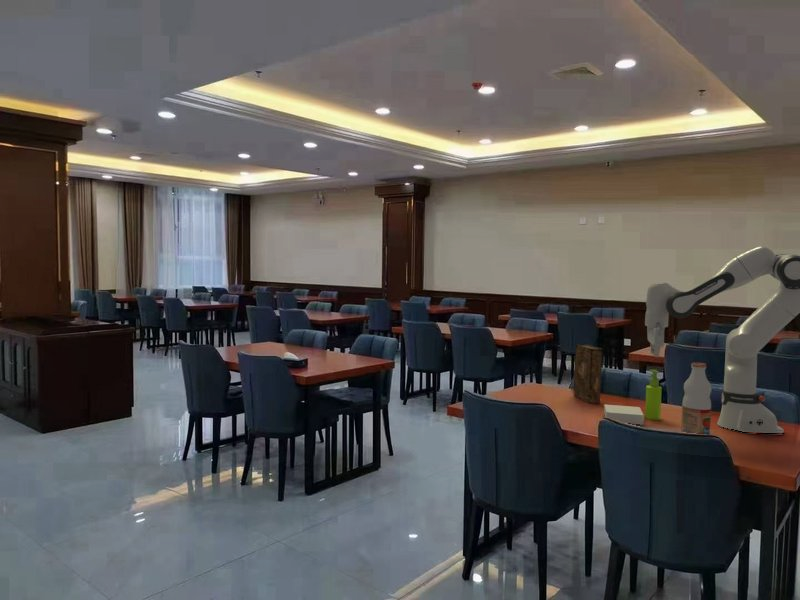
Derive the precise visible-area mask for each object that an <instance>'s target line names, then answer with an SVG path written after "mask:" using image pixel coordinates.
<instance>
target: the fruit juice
mask: <svg viewBox="0 0 800 600" xmlns="http://www.w3.org/2000/svg"><path fill="white" fill-rule="evenodd" d="M690 368H691V372H690V375H689V377H688V378H687V379H686V380H685V382H684V383H683V391H684V395H683V398H682V403H681V406H682V407H681V427H680V433H681V432H686V433H696V434H707V435H710V434H711V418H712V417H711V415H712V400H711V398H710V397H711V394H712V384H711V383H710V381H709V380H708V378H707V375H706V369H707V364H706V363H703V362H695V361H694V362H691V364H690Z"/></svg>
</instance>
